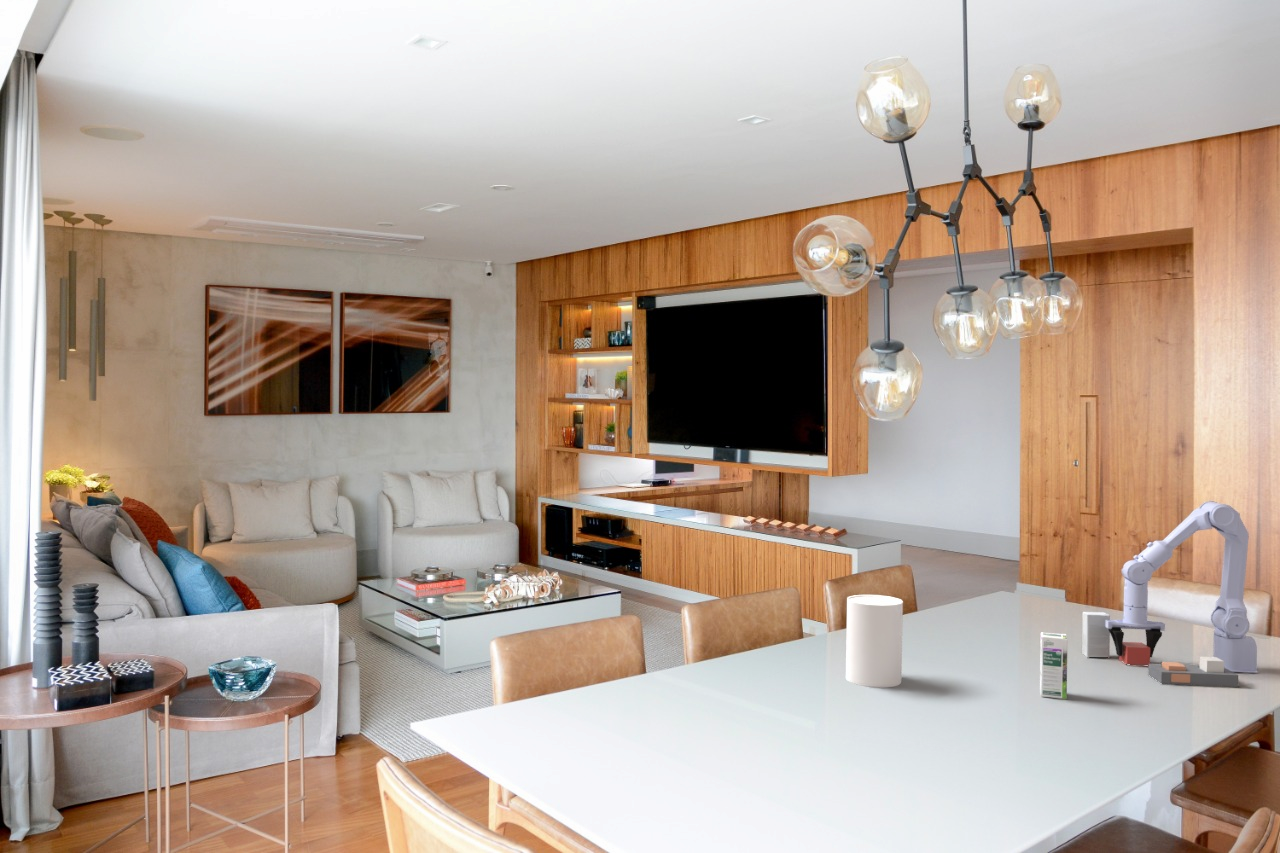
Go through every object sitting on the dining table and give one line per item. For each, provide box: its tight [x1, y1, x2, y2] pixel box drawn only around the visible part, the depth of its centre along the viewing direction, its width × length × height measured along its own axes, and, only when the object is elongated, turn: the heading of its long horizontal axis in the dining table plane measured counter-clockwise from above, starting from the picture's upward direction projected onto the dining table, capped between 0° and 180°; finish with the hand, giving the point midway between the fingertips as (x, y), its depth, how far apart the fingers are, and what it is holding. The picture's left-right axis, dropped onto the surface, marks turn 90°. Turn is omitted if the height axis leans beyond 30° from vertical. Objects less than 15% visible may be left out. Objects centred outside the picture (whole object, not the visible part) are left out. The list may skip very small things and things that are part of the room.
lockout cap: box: [1118, 641, 1151, 667], centre depth 262 cm, size 6×6×5 cm
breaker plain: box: [1199, 656, 1224, 673], centre depth 245 cm, size 4×4×4 cm
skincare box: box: [1081, 611, 1111, 659], centre depth 269 cm, size 6×4×12 cm
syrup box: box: [1039, 631, 1069, 700], centre depth 232 cm, size 6×6×14 cm
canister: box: [845, 594, 904, 688], centre depth 244 cm, size 14×14×20 cm
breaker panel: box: [1147, 663, 1239, 688], centre depth 245 cm, size 18×8×3 cm, turn 83°
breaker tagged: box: [1161, 661, 1186, 671], centre depth 246 cm, size 4×4×4 cm
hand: (1134, 655), depth 262 cm, fingers open, 7 cm apart
